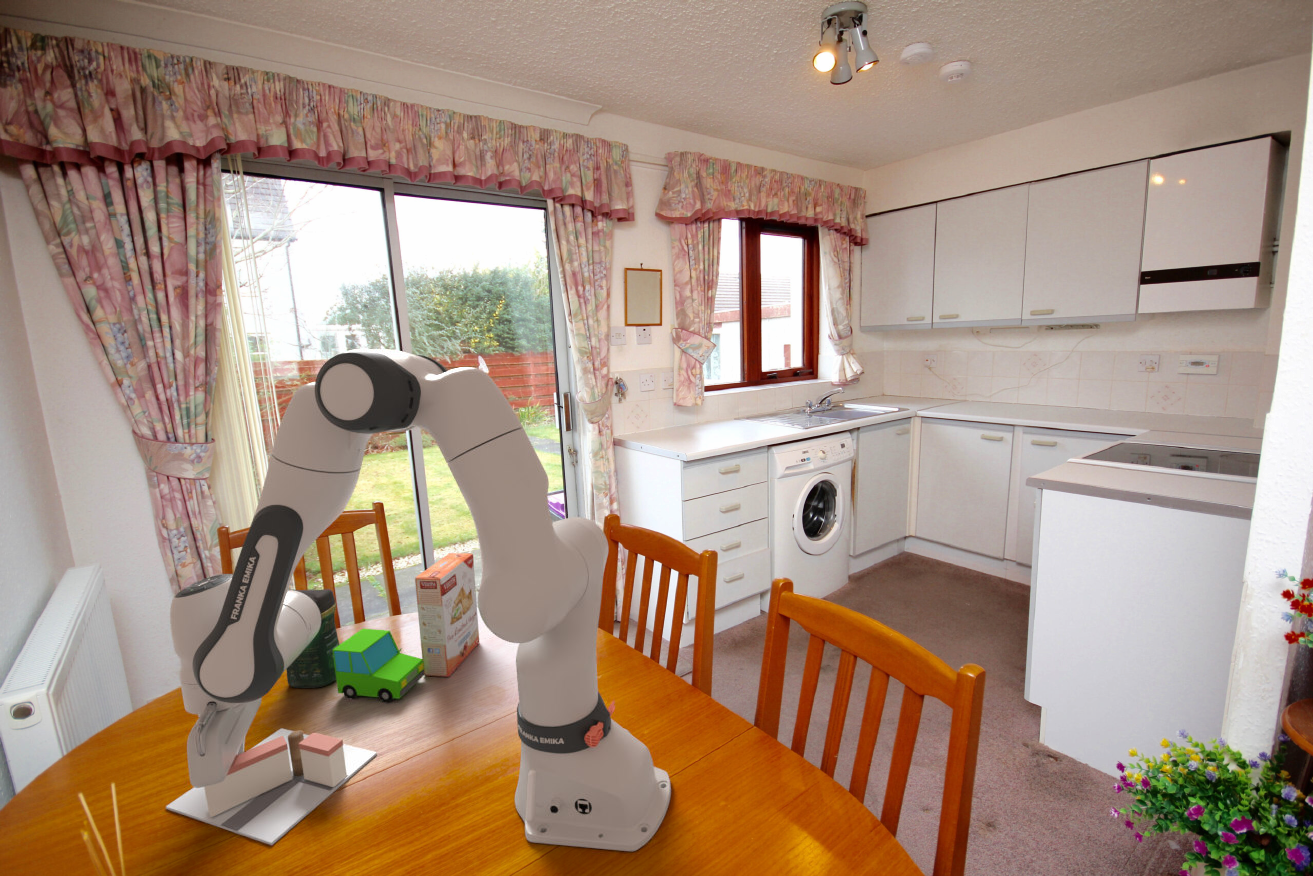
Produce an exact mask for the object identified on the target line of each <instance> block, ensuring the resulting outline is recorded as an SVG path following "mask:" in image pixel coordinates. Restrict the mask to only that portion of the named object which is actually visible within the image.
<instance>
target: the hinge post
mask: <svg viewBox="0 0 1313 876" xmlns="http://www.w3.org/2000/svg"><path fill="white" fill-rule="evenodd" d="M303 734H304V732H303V730H294V732H292V733H291V734H289V735H288V743H289V749H290V756H291V762H292V769H293V775H294V776H301V775H303V774H304V773H303V766H302V759H301V753H300V749H299V744H298V743H300V742H301V741H302V740H304V736H303Z"/></svg>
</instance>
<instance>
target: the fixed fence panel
mask: <svg viewBox="0 0 1313 876" xmlns="http://www.w3.org/2000/svg"><path fill="white" fill-rule="evenodd" d="M308 735H309V736H308V737H307V738H305V739H304V740H302V741H301V742H300V743H298V744H299V749H300V753H301V759H302V766H303V773H304V779H306V780H310V781H313V782H317V783H320V784H324V785H327V786H330V787H335V786H336V785H337V784H338V783H339V782H340V781H342V780H343V779H344V778H345V777H346V776H347V773H346V766H345V758H344V751H343V744H344V740H343V739H341V738H338V737H333V736H329V735H325V734H321V733H319V732H312V733H310V734H308Z"/></svg>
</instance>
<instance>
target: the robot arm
mask: <svg viewBox="0 0 1313 876" xmlns="http://www.w3.org/2000/svg"><path fill="white" fill-rule="evenodd" d="M419 428H420V429H422V430H424V431H425V432H427V434H429V435H430V436H431V437H432V439H433V440H434V442H435V443H436V445H437V447H438V449H439V450H440V452H441V455H442V456H443V459H444V461H445V463H446V464H447V466H448V469H449V470H450V472H451V474H452V477H453V478H454V481H455V483H456V484H457V487H458V489H459V491H460V493H461V494H462V497H463V499H464V501H465V502H466V504H467V507H468V509H469V512H470V513H471V517H472V520H473V523H474V526H475V530H476V536H477V539H478V540H477V541H478V547H479V552H480V559H481V580H480V584H479V585H480V586H479V590H478V592H477V610H478V612H479V615H480V618H481V620H482V621H483V623H484V626H486V628H487V629H488V630H489V631H490V632H491V633H492V634H493V635H495V636H496V637H497V638H499V639H501V640H503V641H504V642H508V643H513V644H518V647H517V649H516V656H515V666H516V680H517V681H516V682H517V692H518V704H517V707H516V718H517V719H516V720H517V721H516V722H517V734H518V737H519V740H520V767H519V774H518V775H519V776H518V781H517V785H516V786H517V787H516V790H515V793H514V794H515V795H514V806H515V809H516V811H517V812H518V814H519V817H521V819H522V821H523V822H524V836H525V838H526V840H527V841H528V842H530V843H535V844H536V843H537V844H547V845H559V846H569V847H579V848H588V849H589V848H592V849H599V850H600V849H602V850H613V851H624V852H636V851H638V850H639V849H641V848H642V847H643V846H645V845H646V844H647V843H648V842H649V841H650V840H651V839H652V838H653V837H654V835H655V834H656V833H657V831H658V829H659V828H660V826H661V825H662V822H663V820H664V819H665V816H666V814H667V811H668V808H669V805H670V802H671V795H672V787H671V779H670V777H669V773H668V772H667V771H666V770H664V769H662V768H659V767H656V766H654V761H653V758H652V755H651V753H650V750H649V748H648V747H647V746H646V745H645V744H644V743H643V742H642V741H640V739H638V738H636V737H635V736H634V735H632V733H631V732H630V731H629V730H628V729H626V728H623V727H622V726H621V725H620V724H619V723H617V722H616V721H615V720H614V719H612V718H611V717H612V715H613V713H614V712H615V709H616V706H615V703H616V701H615V700H613V701H612V702H611V703H610V705H609V706H608V707H607V706H606V704H605V701H604V699H603V697H602V695H601V694H600V692H599V688H598V668H597V637H598V628H599V620H600V613H601V606H602V605H601V603H602V594H603V593H602V591H603V582H604V581H603V579H604V573H605V570H606V569H605V568H606V564H607V561H608V560H607V559H608V556H609V541H608V538H607V537H606V533H604V531H603V530H602V528H601V527H600V526H599V525H598V524H597V523H595V522H594V521H593V520H591V519H588V518H587V517H586V518H585V517H580V516H572V517H567V518H563V519H560V520H556V521H553V520H552V518H551V512H550V507H549V499H548V498H549V497H548V493H549V487H550V486H549V485H550V481H549V477H548V474H547V472H546V470H545V468H544V466H543V463H542V462H541V460H540V458H539V456H538V455H537V452H536V450H535V448H534V446H533V444H532V443H531V440H530V438H529V436H528V434H527V433H526V430H525V428H524V426H523V425H522V423H521V421H520V419H519V417H518V415H517V413H516V412H515V410H514V409H513V407H512V405H511V403H510V402H509V401H508V399H507V397H506V396H505V395H504V393H503V392H502V390H501V389H500V388H499V386H498V385H497V384H496V382H495V381H494V380H493V378H491V376H490V375H489V374H488V373H487V372H485V371H484V370H482V369H480V368H478V367H471V366H470V367H469V366H463V367H457V368H453V369H449V370H448V369H447V367H445V365H443V364H442V363H440V362H439V361H437V360H436V359H433V358H431V357H429V356H427V355H423V354H422V355H421V354H412V353H409V352H405V351H401V350H397V349H371V348H356V349H351V350H347V351H344V352H341V353H340V352H339V353H338V354H336V355H334V356H332V357H330V358H329V359H328V360H327V361H325V362H324V364H322V366H321V367H320V369H319V371H318V373H317V375H316V377H315V381H313V382H309V383H305V384H302V385H301V386H300V387H298V388H297V389H296V390H295V392H294V393H293V395H292V397H291V398H290V401H289V403H288V405H287V406H286V409H285V411H284V414H283V416H282V419H281V420H280V424H279V426H278V429H277V433H276V436H275V439H274V443H273V446H272V450H271V454H270V459H269V463H268V467H267V471H266V475H265V479H264V483H263V487H262V489H261V492H260V493H261V494H260V497H259V500H258V503H257V506H256V509H255V512H254V515H253V516H252V517H253V518H252V521H251V524H250V526H249V530H248V532H247V534H246V536H245V539H244V541H243V544H242V548H240V549H241V550H240V553H239V556H238V558H237V562H236V566H235V568H234V571H233V574H232V573H222V574H217V575H213V576H210V577H209V576H208V577H207V578H203V579H200V580H198V581H195V582H193V583H192V584H190V585H188V586H186V587H185V588H183V589H182V590H181V591H179V592H178V593H176V595H175V596H174V597H173V599H172V601H171V605H170V613H169V619H170V620H169V621H170V631H171V633H170V634H171V639H172V646H173V650H174V653H175V654H176V656H177V658H178V659H179V663H180V669H179V673H178V676H179V677H178V679H179V684H180V687H181V688H180V689H181V694H182V700H183V705H184V710H185V711H186V712H187V713H188V714H192V715H197V717H198V719H197V720H196V722H195V723H194V725H193V727H192V728H191V730H190V732H189V734H188V737H187V741H186V750H187V751H186V755H187V766H188V775H189V782H190V784H191V786H192V787H193V788H194V787H195V788H201V787H205V786H209V785H213V784H217V783H220V782H222V781H223V780H224V779H225V778H226V776H227V773H228V771H229V769H230V767H231V765H232V763H233V761H234V759H235V757H236V755H238V754H240V753H243V752H245V743H246V736H247V733H248V731H249V729H250V728H251V725H252V723H253V721H254V719H255V717H256V715H257V712H258V710H259V708H260V706H261V704H262V701H263V700H262V698H263V697H264V696H265V695H267V694H268V693H269V692H270V691H271V690H272V689H273V687H274V686H276V683H277V681H279V679H280V678H281V676H282V675H283V673H284V672H285V671H287V670H286V669H287V668H288V667H289V666H290V665H291V664H292V662H293V661H294V660H295V659H296V658H297V657H298V656H299V655H300V654H301V653H302V651H303V650H304V649H305V648H306V647H307V646H308V645H309V644H310V642H311V641H312V640H313V639H314V637H315V636H316V635H317V634H318V632H319V630H320V628H321V624H322V616H321V612H320V609H319V607H318V605H317V604H316V602H315V601H314V600H313V599H312V598H311V597H310V596H308V595H307V594H305V593H303V592H300V591H297V590H298V589H289V588H290V586H291V585H290V584H291V581H292V578H293V575H294V573H295V570H296V568H297V566H298V564H299V562H300V561H301V560H302V558H303V556H304V555H305V554H306V552H307V550H308V549H309V548H310V547H311V545H313V543H314V542H315V541H316V540H317V539H318V538H319V537H320V536H321V535H322V534H323V532H325V530H326V529H327V528H329V527H330V526H331V525H332V524H333V522H335V521H336V520H337V519H338V518H339V517H340V516H341V515H342V514H343V512H344V511H345V509H346V508H347V505H348V504H349V502H350V500H351V498H352V497H353V496H352V495H353V493H354V491H355V489H356V487H357V484H358V481H359V477H360V472H361V469H362V465H363V461H364V455H365V452H366V448H367V445H368V442H369V440H370V438H371V437H372V436H373V435H375V434H380V433H385V432H386V433H387V432H389V433H390V432H391V433H402V432H408V431H412V430H415V429H419Z"/></svg>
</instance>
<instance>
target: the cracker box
mask: <svg viewBox="0 0 1313 876" xmlns="http://www.w3.org/2000/svg"><path fill="white" fill-rule="evenodd" d="M474 563H475V561H474V554H473V553H467V552H466V553H464V552H462V553H457V552H456V553H455V552H449V553H448V554H447V555H446V554H445V556H444V557H442V558H441V559H439V560H438V561H437V562H435V563H434V564H432V565H431V566H430V567H428V568H427V569H426V570H425V569H424V571H423V572H421V573H419V574H418V575H417V576H415V578H414V582H415V584H414V585H415V592H416V603H417V606H416V607H417V615H418V624H419V626H418V627H419V635H420V637H419V639H420V647H421V659H423V665H424V676H431V677H444V678H450V676H451V675H452V674H453V673H454V672H455V671H456V669H458V667H459V666H460V665H461V664H462V663H463V661H464V660H466V658H467V657H468V656H469V655H470V654H471V653H472V651H473V650H474V649H475V648H476V647H477V646H478V645H479V643H480V633H479V617H478V601H477V594H476V593H477V590H476V577H475V564H474Z"/></svg>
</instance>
